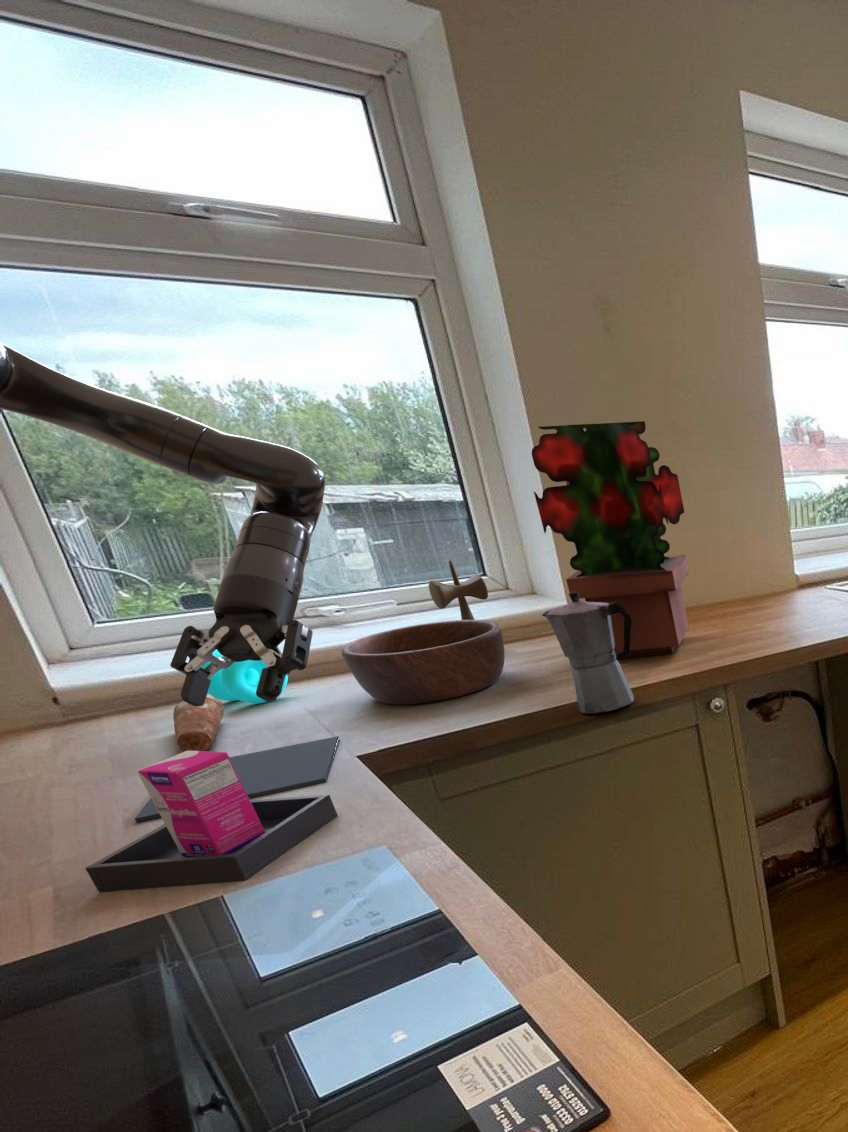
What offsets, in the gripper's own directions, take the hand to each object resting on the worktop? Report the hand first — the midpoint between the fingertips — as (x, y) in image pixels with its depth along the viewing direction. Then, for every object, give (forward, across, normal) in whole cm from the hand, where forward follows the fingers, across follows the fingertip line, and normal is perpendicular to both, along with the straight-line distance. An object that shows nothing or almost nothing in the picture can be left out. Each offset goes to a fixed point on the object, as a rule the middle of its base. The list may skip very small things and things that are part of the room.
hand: (229, 701), depth 99 cm
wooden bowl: (-26, -8, +49) cm, 57 cm away
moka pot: (-14, +29, +37) cm, 49 cm away
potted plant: (-40, +24, +63) cm, 79 cm away
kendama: (-44, -14, +67) cm, 82 cm away
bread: (-12, -35, +35) cm, 51 cm away
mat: (+1, -15, +22) cm, 26 cm away
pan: (+18, 0, +5) cm, 18 cm away
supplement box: (+17, 0, +5) cm, 18 cm away
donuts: (-26, -42, +49) cm, 70 cm away
